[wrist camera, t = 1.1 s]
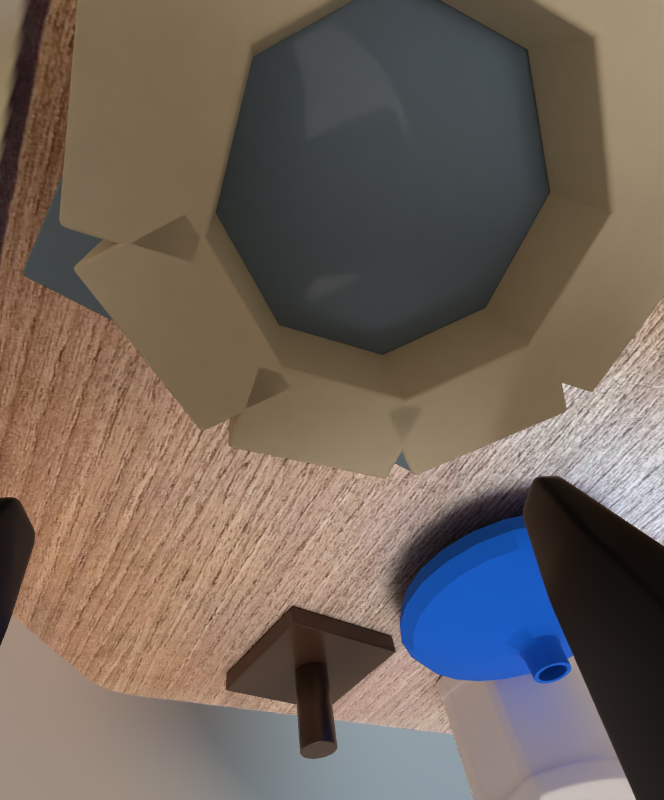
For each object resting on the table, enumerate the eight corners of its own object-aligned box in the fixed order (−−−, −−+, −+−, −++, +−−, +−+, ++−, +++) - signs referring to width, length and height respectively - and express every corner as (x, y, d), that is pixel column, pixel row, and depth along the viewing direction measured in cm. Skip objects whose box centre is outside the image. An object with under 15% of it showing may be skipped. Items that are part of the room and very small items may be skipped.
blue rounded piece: (656, 523, 32) (745, 618, 26) (509, 649, 39) (554, 747, 33) (484, 453, 27) (549, 554, 21) (346, 615, 33) (366, 726, 27)
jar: (508, 703, 44) (606, 941, 32) (421, 696, 41) (493, 956, 29) (585, 632, 39) (740, 884, 27) (493, 618, 36) (618, 895, 24)
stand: (226, 673, 35) (221, 772, 30) (292, 606, 32) (299, 704, 27) (323, 694, 39) (334, 786, 34) (392, 636, 36) (415, 728, 30)
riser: (134, 188, 17) (20, 275, 9) (283, -124, 13) (328, -484, 5) (350, 325, 21) (411, 472, 13) (510, 115, 18) (740, 131, 9)
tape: (77, 357, 10) (41, 411, 8) (168, -417, 5) (129, -658, 4) (476, 452, 13) (509, 505, 11) (761, 14, 8) (891, -7, 7)
